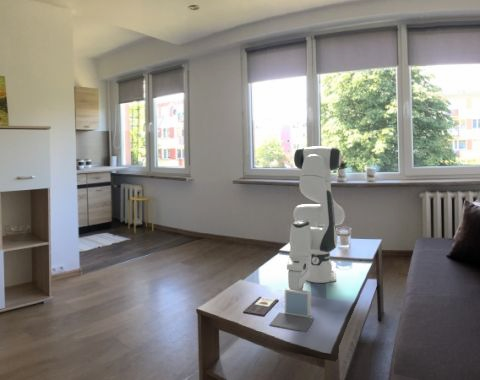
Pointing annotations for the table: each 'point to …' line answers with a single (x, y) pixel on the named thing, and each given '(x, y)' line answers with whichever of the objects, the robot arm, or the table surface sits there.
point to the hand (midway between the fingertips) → (299, 294)
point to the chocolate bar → (261, 306)
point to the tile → (297, 302)
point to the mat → (292, 322)
